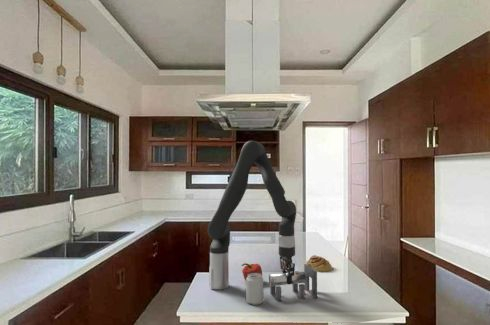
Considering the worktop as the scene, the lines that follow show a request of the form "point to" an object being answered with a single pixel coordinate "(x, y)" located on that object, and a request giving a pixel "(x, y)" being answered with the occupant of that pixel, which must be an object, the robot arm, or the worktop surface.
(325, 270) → the pastry
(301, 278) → the tube
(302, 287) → the grey u-shaped bracket
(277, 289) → the grey metal blocks
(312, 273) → the frame
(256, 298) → the can
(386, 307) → the worktop surface
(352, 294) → the worktop surface
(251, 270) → the vegetable
